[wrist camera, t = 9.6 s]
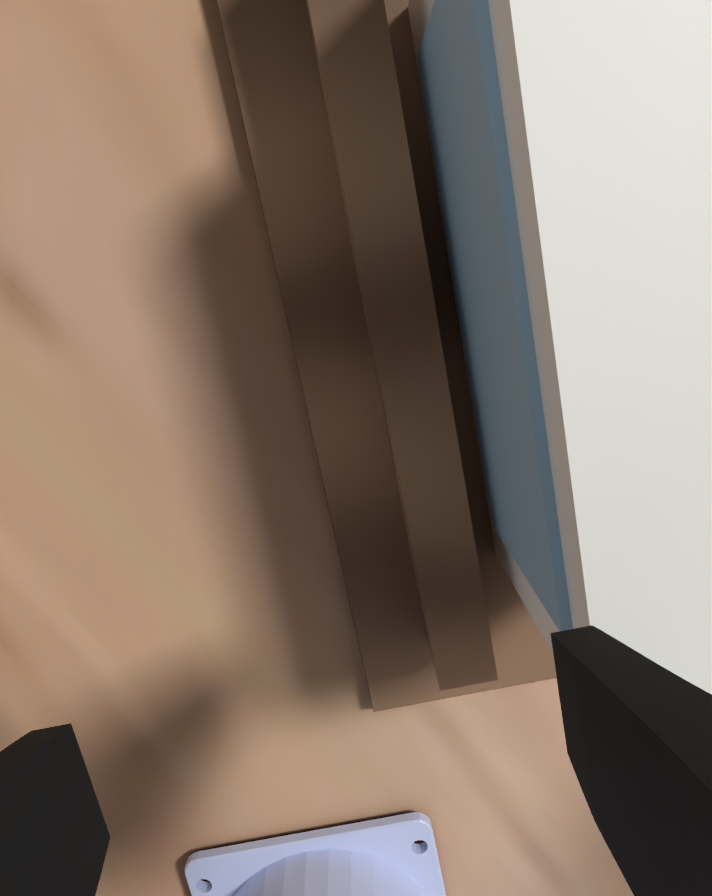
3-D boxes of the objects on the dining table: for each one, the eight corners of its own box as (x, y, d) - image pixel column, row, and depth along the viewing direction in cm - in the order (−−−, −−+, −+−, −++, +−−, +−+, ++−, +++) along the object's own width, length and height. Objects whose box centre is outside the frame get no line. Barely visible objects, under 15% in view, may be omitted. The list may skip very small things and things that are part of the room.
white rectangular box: (618, 531, 18) (818, 706, 11) (488, 556, 19) (593, 747, 11) (555, -25, 15) (775, -357, 7) (399, 9, 15) (455, -284, 8)
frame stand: (763, 628, 20) (835, 687, 17) (373, 701, 20) (377, 770, 17) (710, -243, 15) (801, -375, 12) (190, -125, 15) (154, -225, 12)
